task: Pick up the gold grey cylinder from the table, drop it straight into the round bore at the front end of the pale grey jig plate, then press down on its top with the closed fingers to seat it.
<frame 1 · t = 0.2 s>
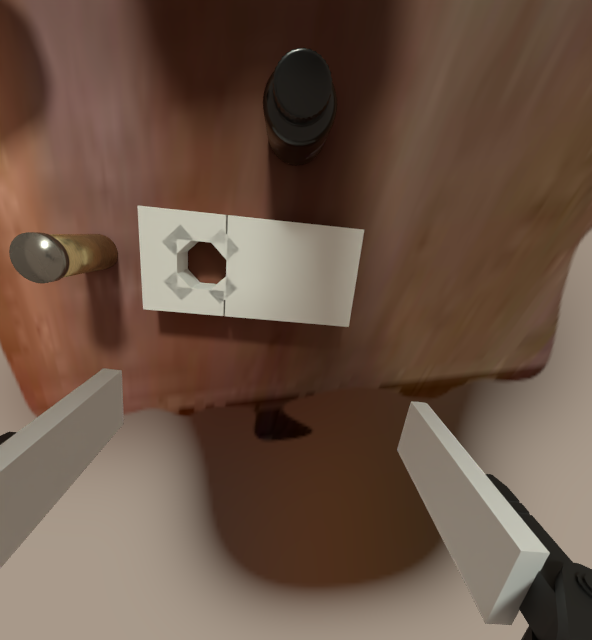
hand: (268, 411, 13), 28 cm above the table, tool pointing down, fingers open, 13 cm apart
gold grey cylinder: (100, 251, 37), on the table
supplement bottle: (296, 134, 34), on the table
jig: (254, 266, 39), on the table
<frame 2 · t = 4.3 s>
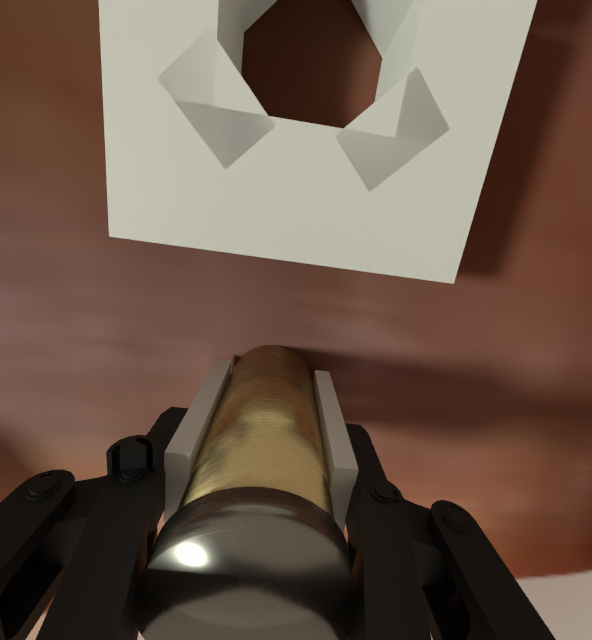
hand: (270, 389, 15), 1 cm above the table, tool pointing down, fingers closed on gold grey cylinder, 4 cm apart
gold grey cylinder: (271, 382, 16), on the table, touching gripper
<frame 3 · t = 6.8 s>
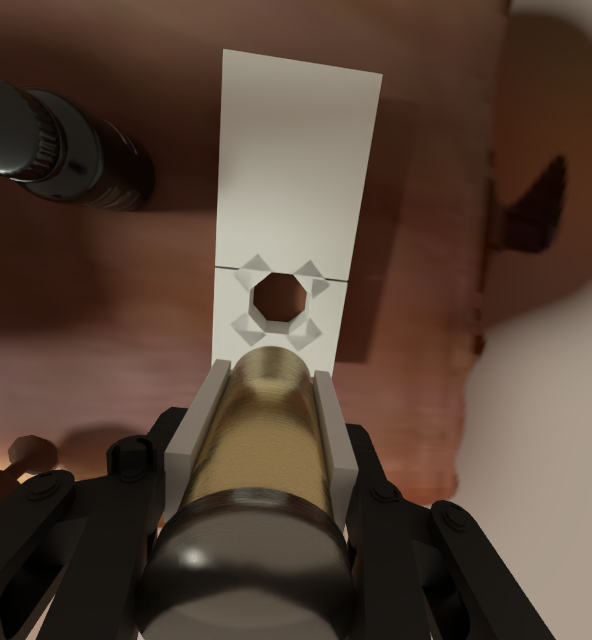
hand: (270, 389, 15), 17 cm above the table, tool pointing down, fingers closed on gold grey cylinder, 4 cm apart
gold grey cylinder: (271, 383, 16), point 16 cm above the table, touching gripper
ice cream bowl: (35, 453, 36), on the table
supplement bottle: (121, 173, 27), on the table
jig: (286, 238, 29), on the table
when the fingers open (6 cm above the table, at t = 9.8 s): gold grey cylinder drops 5 cm, resting in jig.
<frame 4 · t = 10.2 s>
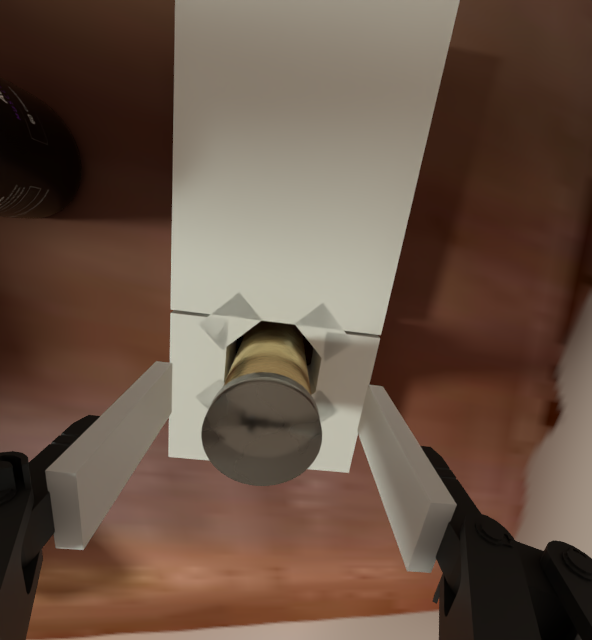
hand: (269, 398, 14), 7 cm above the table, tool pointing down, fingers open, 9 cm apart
gold grey cylinder: (273, 345, 21), resting in jig
supplement bottle: (29, 159, 17), on the table
jig: (285, 262, 19), on the table
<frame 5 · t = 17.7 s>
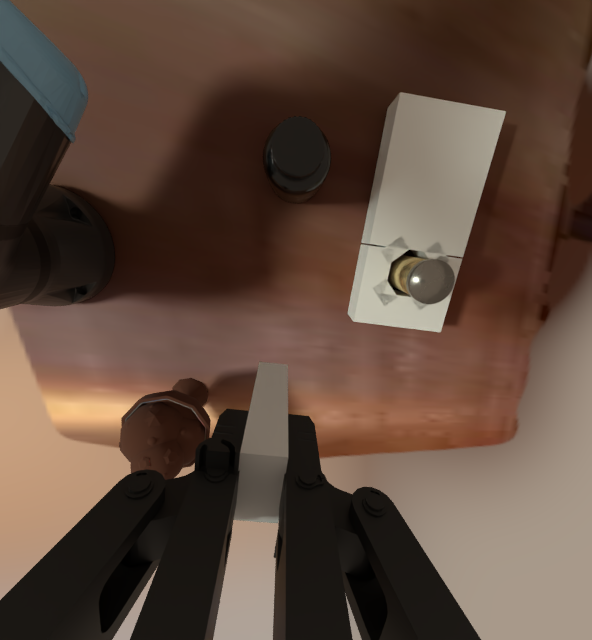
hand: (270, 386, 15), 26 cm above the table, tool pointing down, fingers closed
gold grey cylinder: (397, 270, 40), resting in jig
ice cream bowl: (190, 393, 45), on the table
supplement bottle: (295, 175, 37), on the table
jig: (409, 226, 39), on the table
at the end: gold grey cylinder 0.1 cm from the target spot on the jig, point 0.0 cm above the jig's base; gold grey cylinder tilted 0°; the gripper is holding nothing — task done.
